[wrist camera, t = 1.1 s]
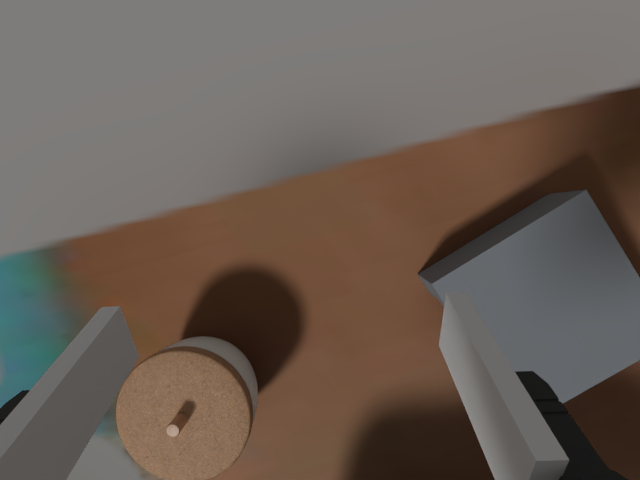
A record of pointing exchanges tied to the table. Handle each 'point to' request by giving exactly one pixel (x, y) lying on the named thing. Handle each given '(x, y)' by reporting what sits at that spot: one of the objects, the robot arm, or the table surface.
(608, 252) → the stand
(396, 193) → the table surface
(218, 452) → the lidded jar
